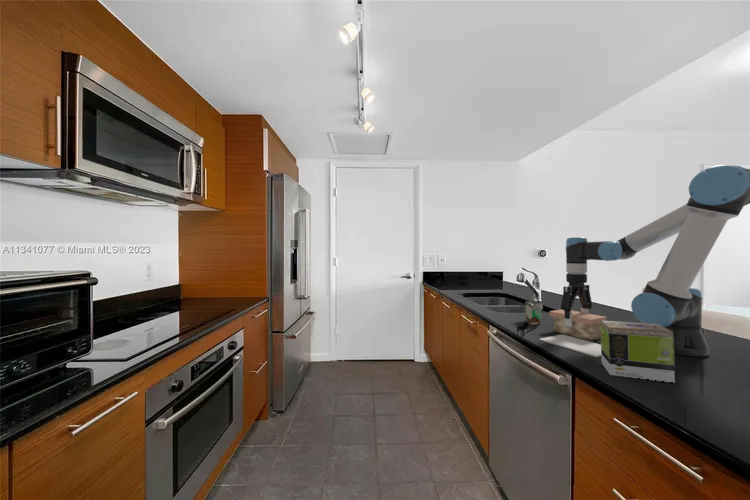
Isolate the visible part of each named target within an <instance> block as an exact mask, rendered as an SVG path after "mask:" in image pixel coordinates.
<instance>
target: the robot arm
mask: <svg viewBox="0 0 750 500" xmlns="http://www.w3.org/2000/svg"><path fill="white" fill-rule="evenodd" d="M688 193H689V195H690V197H689V199H688V201H687V203H685V204H684V205H682V206H680V207H678V208H676V209H674V210H673V211H671V212H668V213H666V214H665V215H663V216H661V217H659V218H657V219H655V220H653V221H652V222H650V223H648V224H647V225H644V226H642V227H640V228H639V229H637V230H635V231H633V232H631V233H629V234H628V235H626V236H624V237H622V238H620V239H619V240H615V241H611V240H606V241H588V239H587V237H585V236H584V237H583V236H580V237H567V239H566V241H565V242H566V243H565V253H566V255H565V257H566V259H565V261H566V265H565V267H566V268H565V269H566V274H565V277H566V278H565V280H566V282H567V283H568V285H567V286H563V288H562V289H563V291H562V293H563V294H562V298H561V304H560V310H564V311H565V326H569V327H572V311H573V310H572V308H573V305H574V302H575V300H576V298H578V299H579V302H580V305H581V308H580V312H582V313H588V314H590V313H589V310H592V307H593V302H592V297H591V292H590V288H591V287H590V285H589V284H587V282H588V275H587V273H588V261H591V260H592V261H607V262H609V261H618V260H621V261H622V260H628V259H632V258H633V257H634V256H635V255H636V254H637V253H639V252H641V251H643V250H645V249H647V248H650V247H651V246H653V245H655V244H658V243H660V242H662V241H664V240H667V239H668V238H670V237H673V236H675V235H677V236H676V238H675V241H674V242H673V245H672V246H671V248H670V250H669V252H668V254H667V256H666V258H665V260H664V262H663V264H662V266H661V268H660V270H659V272H658V273H657V276H656V277H655V279H653V280H649V281H647V283H646V285H645V287H644V288H643V291H642V292H641V293H638V294H637V295H636V296H635V297H634V298H633V299H632V301H631V302H630V303H631V306H630V307H631V312H632V313H633V315H634V316H635V318H636V319H637V320H638V321H640V323H655V324H659V325H661V326H663V327H665V328H667V329H669V330H671V331H673V338H674V355H675V354H676V355H679V356H680V355H682V356H685V357H687V356H689V357H707V356H709V355H710V348H709V345H708V342H707V341H706V338H705V336H704V334H703V331H702V328H703V327H702V324H703V323H702V321H703V320H702V319H703V318H702V317H703V314H702V312H703V311H702V309H703V307H702V304H703V297H702V292H701V290H700V289H699V288H698V289H697V288H693V287H692V285H693V283H694V282H695V279H696V278H697V276H698V274H699V272H700V271H701V268H702V267H703V265H704V264H705V262H706V260H707V258H708V256H710V255H709V254H710V253H711V251H712V249H713V247H714V246H715V243H716V242H717V240H718V238H719V237H720V235H721V233H722V231H723V229H724V227H725V225H726V224H727V223H728V221H729V220H731V219H733V218H736V217H739V215H740V214H741V212H742V210H743V209H744V207H745V206H748V205H749V204H750V168H745V167H742V166H739V165H733V164H721V165H720V164H719V165H715V166H711V167H708V168H705V169H702V171H700V172H698V173H697V174H696V175H695V176H694V177H693V178H692V179H691V181H690V183H689V185H688ZM571 310H572V311H571Z"/></svg>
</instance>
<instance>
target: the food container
mask: <svg viewBox="0 0 750 500" xmlns="http://www.w3.org/2000/svg"><path fill="white" fill-rule="evenodd" d="M543 309H544V308H543V305H542V303H541V302H540V303H539V302H538V301H537V302H536V301H527V300H526V301H525V319H526V322H527V323H528V324H529V325H530V326H532V327H537V326H540V325H541V320H542V319H541V318H542V310H543Z"/></svg>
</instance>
